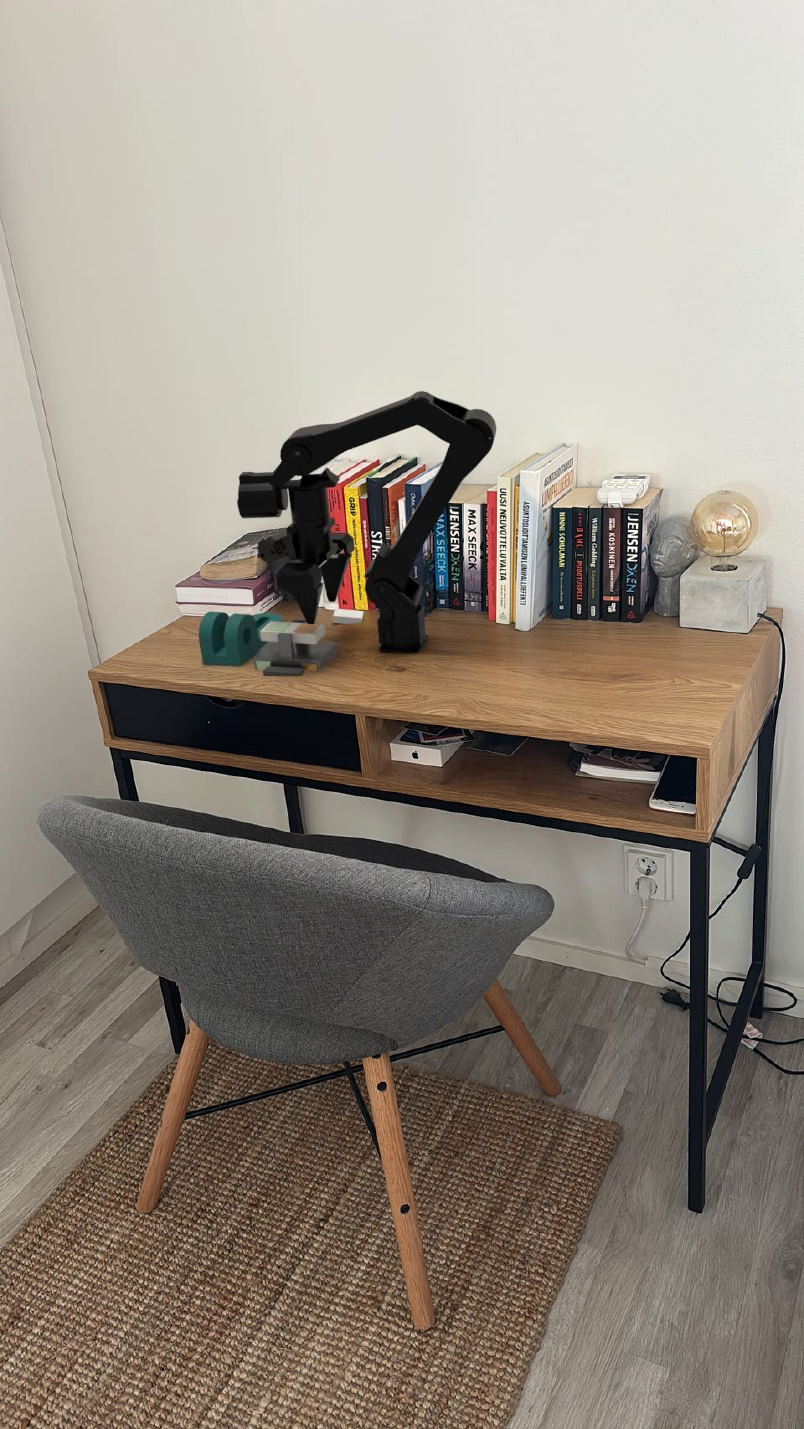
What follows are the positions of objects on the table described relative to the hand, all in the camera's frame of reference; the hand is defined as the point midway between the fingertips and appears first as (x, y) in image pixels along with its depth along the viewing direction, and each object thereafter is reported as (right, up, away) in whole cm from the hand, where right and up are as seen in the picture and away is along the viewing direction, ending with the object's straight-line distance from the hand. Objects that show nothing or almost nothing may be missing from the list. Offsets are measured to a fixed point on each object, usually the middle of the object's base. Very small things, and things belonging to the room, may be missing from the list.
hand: (321, 612), depth 180 cm
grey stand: (-4, -8, 0) cm, 9 cm away
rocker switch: (-4, -3, -2) cm, 6 cm away
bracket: (-13, -5, +10) cm, 17 cm away
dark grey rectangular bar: (-5, -11, -4) cm, 13 cm away
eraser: (+1, -1, +14) cm, 14 cm away
